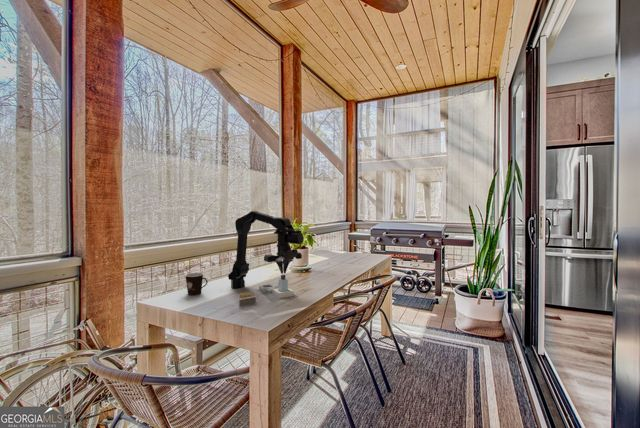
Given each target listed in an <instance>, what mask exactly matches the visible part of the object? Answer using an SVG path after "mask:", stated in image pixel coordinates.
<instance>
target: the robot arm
mask: <svg viewBox="0 0 640 428" xmlns="http://www.w3.org/2000/svg"><path fill="white" fill-rule="evenodd" d="M256 221H259V222H261V223H266V224H267V225H270V226H272V227H273V228H275V229H276V230H275V231H274V232H273V234H274V235H277V244H276V248H277V252H276V255H274V254H272V253H270V254H264V257H263V261H264V262H267V263H276V265H277V267H278V269H279V272H280V274H281V275H286V272H287V271H288V268H289V264H290V263H291V262H293V261H294V258H295V259H296V260H300V259H302V258H303V254H302V252H298V249H297V248H293V249H291V244H293V245H303V243H304V240H305V239H304V234H303V233H302V230H301V229H298V230H296V229H295V228H294V226H293V224H292V223H291V220H290V218H289V217H277V216H272V215H270V214H267V213H263V212H259V211H258V210H252V211H250V212H248V213H247V214H245V215H243V216H241V217H239V218H237V219H235V223H234V224H235V225H234V227H235V231H236V233H237V244H236V245H237V246H236V259H235V262H233V265H232V269H231V272H229V274H228V275H227V277H228V280H230V288H231V289H233V290H238V289H242V288H245V287H246V284H245V283H246V280H245V278H246V276H247V274H248V273H249V271H250V268H249V267H250V263H248V262H247V259H246V258H247V244H248V234H249V232H250V231H251V229H252V228H251V227H252V224H254V223H255V222H256Z"/></svg>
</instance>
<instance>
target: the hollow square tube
mask: <svg viewBox="0 0 640 428" xmlns="http://www.w3.org/2000/svg"><path fill="white" fill-rule="evenodd" d="M275 287H276V286H274V285H273V284H270V283H268V284H262V285H261V284H260V285H259V286H258V289H259V291H261V292H262V293H269V292H273V289H275Z"/></svg>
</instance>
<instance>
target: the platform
mask: <svg viewBox="0 0 640 428" xmlns="http://www.w3.org/2000/svg"><path fill="white" fill-rule="evenodd" d="M257 297H259V294H257V293H256V294H255V293H254V292H252V291H248V292H247V291H246V292H243V293H242V292H240V293H239V295H238V296H237V297H236V300H237V301H239V303H238V304H239V306H243V305H249V304H255V303H257Z"/></svg>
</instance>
